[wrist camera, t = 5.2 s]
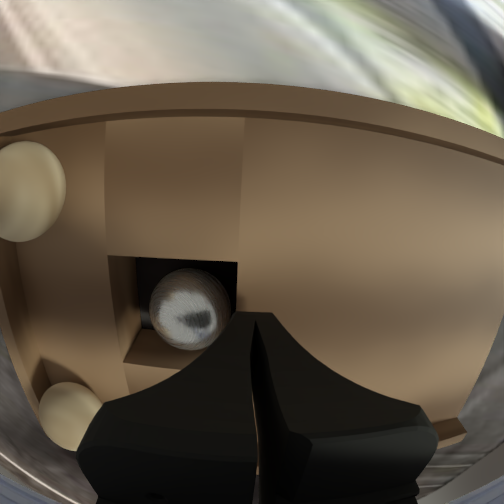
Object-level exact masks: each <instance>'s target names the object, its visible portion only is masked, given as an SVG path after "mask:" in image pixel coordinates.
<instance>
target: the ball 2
mask: <svg viewBox="0 0 504 504" xmlns="http://www.w3.org/2000/svg"><path fill="white" fill-rule="evenodd" d="M101 406H102V403H101V401H100V400H99V398H98V397H97V396H96V395H95V394H94V393H93V392H92V391H91V390H89V389H88V388H86V387H84V386H82V385H80V384H77V383H73V382H62V383H58V384H55V385H53V386H51V387H50V388H49V389H48V390H47V391H46V392H45V393H44V394H43V396H42V398H41V400H40V404H39V419H40V422H41V425H42V427H43V429H44V431H45V433H46V434H47V435H48V437H49V438H50V439H51V440H52V441H53V442H55V443H56V444H57V445H59V446H61V447H63V448H65V449H68V450H71V451H77V448H78V446H79V444H80V442H81V440H82V438H83V436H84V434H85V432H86V430H87V428H88V426H89V424H90V423H91V421H92V419H93V418H94V416H95V415H96V413H97V412H98V410H99V409H100V408H101Z"/></svg>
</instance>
